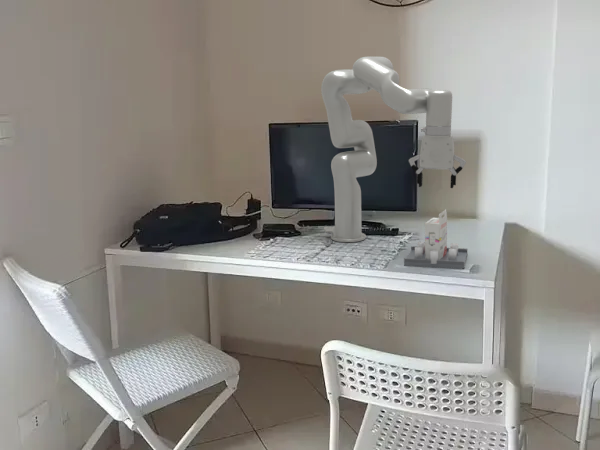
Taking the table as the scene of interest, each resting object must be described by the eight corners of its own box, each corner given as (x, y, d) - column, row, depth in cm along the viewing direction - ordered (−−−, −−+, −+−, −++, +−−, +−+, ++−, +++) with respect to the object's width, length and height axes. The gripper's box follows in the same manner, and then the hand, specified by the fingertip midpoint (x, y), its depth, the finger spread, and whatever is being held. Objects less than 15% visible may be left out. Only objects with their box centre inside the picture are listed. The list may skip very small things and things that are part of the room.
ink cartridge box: (431, 252, 214) (432, 208, 211) (447, 253, 212) (447, 208, 209) (424, 259, 207) (424, 213, 203) (439, 260, 204) (440, 214, 201)
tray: (404, 266, 204) (404, 251, 203) (411, 252, 220) (411, 238, 219) (463, 269, 199) (464, 254, 198) (467, 254, 214) (467, 240, 213)
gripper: (407, 132, 200) (406, 187, 204) (466, 133, 195) (463, 190, 199) (411, 129, 207) (409, 183, 211) (468, 130, 201) (465, 185, 206)
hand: (436, 186), depth 205 cm, fingers open, 9 cm apart
